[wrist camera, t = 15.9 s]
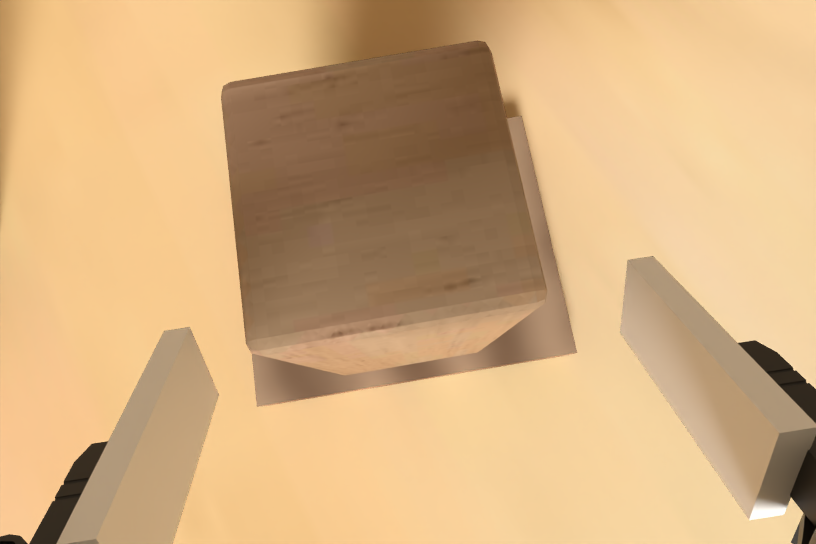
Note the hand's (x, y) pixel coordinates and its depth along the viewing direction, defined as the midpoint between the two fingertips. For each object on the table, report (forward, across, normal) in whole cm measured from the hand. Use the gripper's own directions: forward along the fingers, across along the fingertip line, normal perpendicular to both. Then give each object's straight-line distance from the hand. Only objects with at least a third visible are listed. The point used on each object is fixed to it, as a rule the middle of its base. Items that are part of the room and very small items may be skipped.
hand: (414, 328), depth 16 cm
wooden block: (+18, -1, -11) cm, 21 cm away
